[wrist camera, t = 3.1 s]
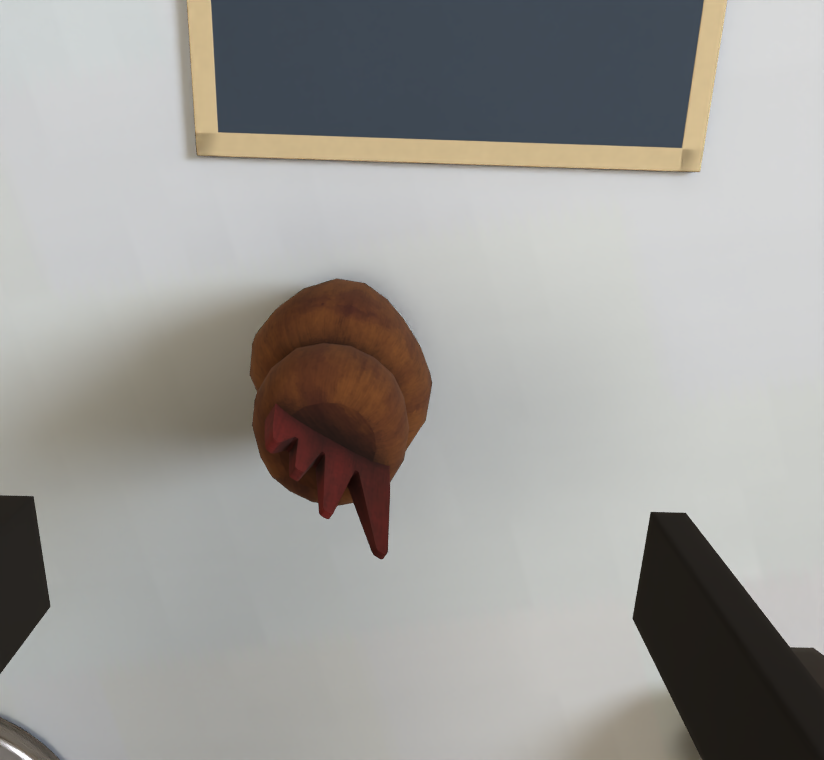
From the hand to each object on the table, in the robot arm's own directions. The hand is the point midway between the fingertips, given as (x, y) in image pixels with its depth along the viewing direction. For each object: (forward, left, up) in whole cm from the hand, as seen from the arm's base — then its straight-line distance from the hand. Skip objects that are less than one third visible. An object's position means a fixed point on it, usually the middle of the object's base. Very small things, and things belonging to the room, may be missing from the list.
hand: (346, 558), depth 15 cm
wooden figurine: (-1, 0, -16) cm, 16 cm away
